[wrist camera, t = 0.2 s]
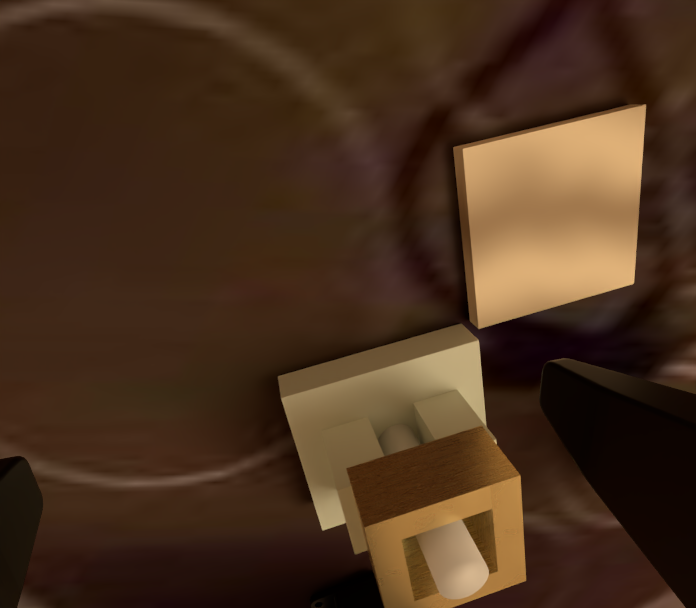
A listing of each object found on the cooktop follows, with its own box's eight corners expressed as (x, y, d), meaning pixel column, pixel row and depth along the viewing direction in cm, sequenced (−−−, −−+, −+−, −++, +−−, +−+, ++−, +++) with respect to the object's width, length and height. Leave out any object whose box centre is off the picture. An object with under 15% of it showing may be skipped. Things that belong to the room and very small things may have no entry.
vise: (474, 451, 29) (584, 609, 20) (316, 502, 27) (355, 695, 18) (461, 323, 25) (588, 445, 16) (277, 376, 24) (302, 540, 15)
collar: (491, 523, 22) (526, 580, 20) (371, 564, 22) (390, 629, 19) (481, 425, 20) (520, 475, 17) (346, 468, 19) (363, 527, 16)
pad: (620, 277, 26) (633, 283, 25) (469, 320, 25) (478, 328, 24) (629, 104, 22) (646, 104, 21) (453, 147, 21) (462, 148, 20)
